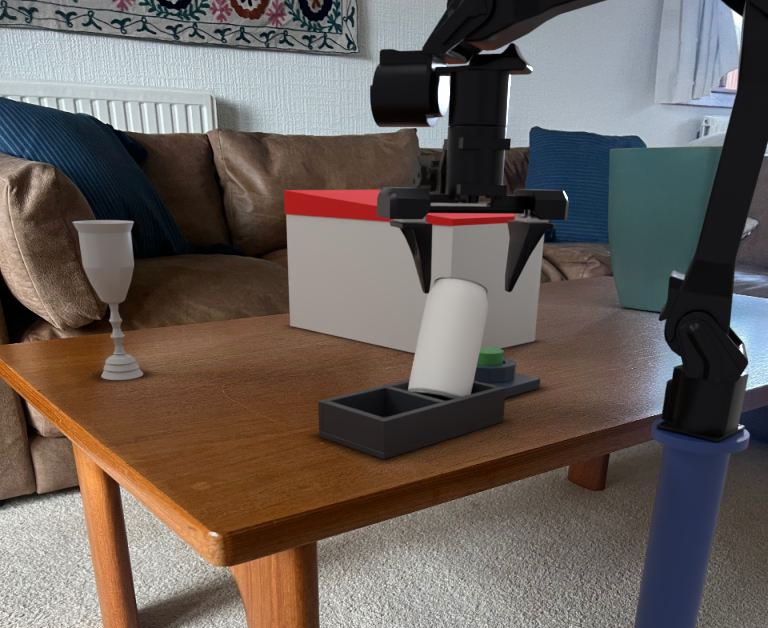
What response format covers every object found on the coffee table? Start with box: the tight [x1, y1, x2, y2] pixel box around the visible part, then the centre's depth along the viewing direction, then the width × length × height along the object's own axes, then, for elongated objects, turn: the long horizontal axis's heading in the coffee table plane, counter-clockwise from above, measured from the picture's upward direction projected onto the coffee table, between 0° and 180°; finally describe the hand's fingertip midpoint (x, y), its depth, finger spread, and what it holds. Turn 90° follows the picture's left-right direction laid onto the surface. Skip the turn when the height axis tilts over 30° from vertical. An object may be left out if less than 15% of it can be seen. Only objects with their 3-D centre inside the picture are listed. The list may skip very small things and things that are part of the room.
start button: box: [477, 347, 505, 366], centre depth 93 cm, size 4×4×2 cm
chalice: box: [72, 219, 144, 381], centre depth 94 cm, size 7×7×18 cm
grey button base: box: [474, 357, 541, 399], centre depth 94 cm, size 10×8×3 cm
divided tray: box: [317, 379, 506, 460], centre depth 78 cm, size 9×17×4 cm, turn 134°
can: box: [408, 276, 488, 401], centre depth 80 cm, size 6×6×12 cm
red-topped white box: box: [283, 189, 545, 354], centre depth 121 cm, size 21×35×21 cm, turn 45°
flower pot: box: [607, 145, 749, 313], centre depth 146 cm, size 20×20×28 cm
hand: (467, 292), depth 82 cm, fingers open, 9 cm apart
